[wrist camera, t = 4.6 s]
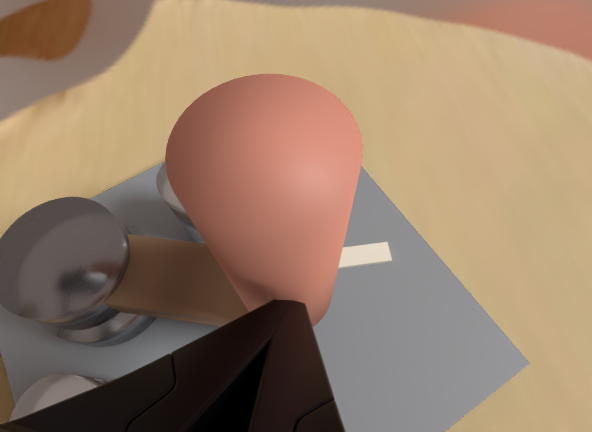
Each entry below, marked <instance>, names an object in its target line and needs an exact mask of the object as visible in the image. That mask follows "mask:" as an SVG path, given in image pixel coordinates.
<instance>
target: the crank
mask: <svg viewBox="0 0 592 432" xmlns="http://www.w3.org/2000/svg"><path fill="white" fill-rule="evenodd" d="M362 158H363V144H362V138H361V134H360V131H359V127H358V125H357V123H356V121H355V119H354V117H353V115H352V114H351V112H350V111H349V109H348V108H347V107H346V106H345V105H344V104H343V103H342V101H341V100H340V99H338V98H337V97H336V96H335V95H334V94H332V93H331V92H329V91H328V90H326V89H325V88H323V87H321V86H319V85H317V84H315V83H313V82H310V81H308V80H305V79H302V78H298V77H294V76H288V75H281V74H259V75H251V76H245V77H241V78H237V79H233V80H231V81H228V82H225V83H223V84H221V85H219V86H216V87H214V88H212V89H211V90H209V91H208V92H206V93H204V94H203V95H201V96H200V97H199V98H198V99H196V100H195V101H194V102H193V103H192V104H191V105H190V106H189V107H188V108H187V109H186V110H185V111H184V112H183V114H182V115H181V116H180V117H179V119H178V121H177V122H176V124H175V126H174V127H173V130H172V132H171V134H170V137H169V140H168V144H167V148H166V157H165V160H166V171H167V176H168V180H169V182H170V185H171V188H172V190H173V192H174V193H175V195H176V197H177V198H178V200H179V202H180V203H181V205H182V206H183V208H184V210H185V211H186V213H187V214H188V216H189V218H190V219H191V221H192V222H193V224H194V225H195V227H196V229H197V230H198V232H199V233H200V235H201V237H202V238H203V240H204V241H205V243H206V244H203V243H195V242H187V241H179V240H171V239H163V238H155V237H147V236H139V235H133V234H132V233H131V232H130V231H129V230H128V229H127V228H126V227H125V226H124V225H123V224H122V223H121V222H120V221H119V220H118V219H117V218H116V217H115V216H114V215H113V214H112V213H111V212H110V211H109V210H108V209H107V208H106V207H104V206H103V205H101V204H100V203H98V202H96V201H93V200H90V199H87V198H81V197H65V198H59V199H55V200H51V201H48V202H45V203H43V204H41V205H39V206H37V207H35V208H33V209H31V210H30V211H28V212H26V213H25V214H24V215H22V216H21V217H20V218H18V219H17V220H16V221H15V222H14V223H13V224H12V225H11V226H10V227H9V228H8V229H7V231H6V232H5V233H4V235H3V236H2V237H1V239H0V305H2V306H3V307H4V308H5V309H6V310H8V311H9V312H11V313H13V314H16V315H18V316H21V317H24V318H27V319H31V320H34V321H37V322H40V323H43V324H47V325H50V326H53V327H56V328H60V329H64V330H73V331H76V330H85V329H90V328H93V327H96V326H99V325H101V324H103V323H105V322H107V321H109V320H110V319H112V318H114V317H115V316H116V315H118V314H119V313H120V312H123V313H130V314H137V315H144V316H151V317H158V318H165V319H172V320H179V321H186V322H193V323H200V324H207V325H214V326H223V325H225V324H227V323H229V322H231V321H233V320H235V319H237V318H239V317H241V316H243V315H245V314H247V313H248V312H250V311H252V310H254V309H256V308H258V307H260V306H262V305H264V304H266V303H268V302H270V301H272V300H274V299H275V300H294V301H298V302H302V303H305V304H306V307H307V310H308V313H309V317H310V320H311V323H312V326H313V327H314V326H315V325H316V324H317V323H319V322H320V321H321V319H322V318H323V317H324V315H325V314H326V312H327V310H328V308H329V305H330V302H331V298H332V293H333V289H334V284H335V280H336V276H337V271H338V267H339V262H340V258H341V253H342V249H343V245H344V240H345V236H346V231H347V227H348V222H349V218H350V214H351V209H352V205H353V200H354V196H355V191H356V187H357V182H358V178H359V174H360V169H361V164H362Z"/></svg>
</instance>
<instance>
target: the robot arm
mask: <svg viewBox="0 0 592 432" xmlns="http://www.w3.org/2000/svg"><path fill="white" fill-rule="evenodd" d="M0 432H346V431H345V428H344V425H343V422H342V420H341V417H340V413H339V410H338V407H337V404H336V402H335V398H334V394H333V391H332V388H331V385H330V382H329V378H328V375H327V372H326V369H325V365H324V362H323V359H322V356H321V352H320V349H319V346H318V343H317V339H316V336H315V333H314V330H313V326H312V323H311V320H310V317H309V313H308V310H307V307H306V304H305V303H302V302H298V301H294V300H275V299H274V300H272V301H270V302H268V303H266V304H264V305H262V306H260V307H258V308H256V309H254V310H252V311H250V312H248V313H247V314H245V315H243V316H241V317H239V318H237V319H235V320H233V321H231V322H229V323H227V324H225V325H223V326H221V327H219V328H217V329H215V330H213V331H212V332H210V333H208V334H206V335H204V336H202V337H200V338H198V339H196V340H194V341H192V342H190V343H188V344H186V345H184V346H182V347H180V348H178V349H177V350H175V351H173V352H172V353H171V354H167V355H165V356H163V357H161V358H159V359H157V360H155V361H153V362H151V363H149V364H147V365H145V366H143V367H140V368H138V369H136V370H134V371H132V372H130V373H128V374H126V375H123V376H121V377H119V378H116V379H114V380H112V381H109V382H107V383H105V384H102V385H100V386H98V387H95V388H93V389H90V390H88V391H85V392H83V393H80V394H78V395H75V396H73V397H70V398H68V399H66V400H63V401H61V402H58V403H56V404H53V405H51V406H48V407H46V408H43V409H41V410H38V411H36V412H33V413H31V414H29V415H26V416H24V417H21V418H18V419H15V420H13V421H10V422H7V423H3V424H0Z"/></svg>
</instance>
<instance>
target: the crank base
mask: <svg viewBox="0 0 592 432" xmlns="http://www.w3.org/2000/svg"><path fill="white" fill-rule="evenodd" d="M90 200H93V201H96V202H98V203H100V204H101V205H103V206H104V207H106V208H107V209H108V210H109V211H110V212H111V213H112V214H113V215H114V216H115V217H116V218H117V219H118V220H119V221H120V222H121V223H122V224H123V225H124V226H125V227H126V228H127V229H128V230H129V231H130V232H131V233H132V234H133V235H139V236H147V237H155V238H163V239H171V240H179V241H187V242H195V243H203V244H206V243H205V241H204V240H203V238H202V237H201V235H200V233H199V232H198V230H197V229H196V227H195V225H194V224H193V222H192V221H191V219H190V218H189V216H188V214H187V213H186V211H185V210H184V208H183V206H182V205H181V203H180V202H179V200H178V198H177V197H176V195H175V193H174V192H173V190H172V188H171V185H170V182H169V180H168V176H167V171H166V161H164V162H162V163H160V164H158V165H156V166H154V167H152V168H150V169H148V170H147V171H145V172H143V173H141V174H139V175H137V176H135V177H133V178H131V179H129V180H127V181H125V182H123V183H121V184H119V185H117V186H115V187H113V188H111V189H109V190H107V191H105V192H103V193H101V194H99V195H97V196H95V197H93V198H91V199H90ZM219 327H221V326H214V325H207V324H200V323H193V322H186V321H179V320H172V319H165V318H158V317H151V316H144V315H137V314H130V313H123V312H120V313H119V314H118V315H116V316H115V317H114V318H112V319H110V320H109V321H107V322H105V323H103V324H101V325H99V326H96V327H93V328H90V329H85V330H76V331H73V330H64V329H60V328H56V327H53V326H50V325H47V324H43V323H40V322H37V321H34V320H31V319H27V318H24V317H21V316H18V315H16V314H13V313H11V312H9V311H8V310H6V309H5V308H4V307H3V306H2V305H0V353H1V356H2V360H3V364H4V367H5V371H6V375H7V379H8V382H9V386H10V390H11V393H12V397H13V401H14V404H15V407H14V409H13V411H12V414H11V417H10V420H9V422H10V421H13V420H15V419H18V418H21V417H24V416H26V415H29V414H31V413H33V412H36V411H38V410H41V409H43V408H46V407H48V406H51V405H53V404H56V403H58V402H61V401H63V400H66V399H68V398H70V397H73V396H75V395H78V394H80V393H83V392H85V391H88V390H90V389H93V388H95V387H98V386H100V385H102V384H105V383H107V382H109V381H112V380H114V379H116V378H119V377H121V376H123V375H126V374H128V373H130V372H132V371H134V370H136V369H138V368H140V367H143V366H145V365H147V364H149V363H151V362H153V361H155V360H157V359H159V358H161V357H163V356H165V355H167V354H171V353H172V352H173V351H175V350H177V349H178V348H180V347H182V346H184V345H186V344H188V343H190V342H192V341H194V340H196V339H198V338H200V337H202V336H204V335H206V334H208V333H210V332H212V331H213V330H215V329H217V328H219ZM313 330H314V333H315V336H316V339H317V343H318V346H319V349H320V352H321V356H322V359H323V362H324V365H325V369H326V372H327V375H328V378H329V382H330V385H331V388H332V391H333V394H334V398H335V402H336V404H337V407H338V410H339V413H340V417H341V420H342V422H343V425H344V428H345V431H346V432H445V431H446V430H447V429H449V428H450V427H451V426H452V425H454V424H455V423H456V422H457V421H459V420H460V419H461V418H462V417H464V416H465V415H466V414H467V413H469V412H470V411H471V410H472V409H473V408H475V407H476V406H477V405H478V404H480V403H481V402H482V401H483V400H485V399H486V398H487V397H488V396H490V395H491V394H492V393H493V392H495V391H496V390H497V389H498V388H500V387H501V386H502V385H503V384H505V383H506V382H507V381H508V380H510V379H511V378H512V377H513V376H515V375H516V374H517V373H518V372H520V371H521V370H522V369H523V368H525V367H526V366H527V365H528V364H530V363H529V362H528V360H527V359H526V358H525V357H524V356H523V355H522V353H521V352H520V351H519V350H518V349H517V348H516V346H515V345H514V344H513V343H512V342H511V341H510V339H509V338H508V337H507V336H506V335H505V334H504V332H503V331H502V330H501V329H500V328H499V327H498V325H497V324H496V323H495V322H494V321H493V320H492V318H491V317H490V316H489V315H488V314H487V312H486V311H485V310H484V309H483V308H482V307H481V305H480V304H479V303H478V302H477V301H476V300H475V298H474V297H473V296H472V295H471V294H470V293H469V291H468V290H467V289H466V288H465V287H464V286H463V284H462V283H461V282H460V281H459V280H458V279H457V277H456V276H455V275H454V274H453V273H452V272H451V270H450V269H449V268H448V267H447V266H446V265H445V263H444V262H443V261H442V260H441V259H440V258H439V256H438V255H437V254H436V253H435V252H434V250H433V249H432V248H431V247H430V246H429V245H428V243H427V242H426V241H425V240H424V239H423V238H422V236H421V235H420V234H419V233H418V232H417V231H416V229H415V228H414V227H413V226H412V225H411V224H410V222H409V221H408V220H407V219H406V218H405V217H404V215H403V214H402V213H401V212H400V211H399V210H398V208H397V207H396V206H395V205H394V204H393V203H392V201H391V200H390V199H389V198H388V197H387V196H386V194H385V193H384V192H383V191H382V190H381V188H380V187H379V186H378V185H377V184H376V183H375V181H374V180H373V179H372V178H371V177H370V176H369V174H368V173H367V172H366V171H365V170H364V169H363V167H362V166H361V169H360V174H359V178H358V182H357V187H356V191H355V196H354V200H353V205H352V209H351V214H350V218H349V222H348V227H347V231H346V236H345V240H344V245H343V249H342V253H341V258H340V262H339V267H338V271H337V276H336V280H335V284H334V289H333V293H332V298H331V302H330V305H329V308H328V310H327V312H326V314H325V315H324V317H323V318H322V319H321V321H320V322H319V323H317V324H316V325H315V326H314V327H313Z"/></svg>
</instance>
